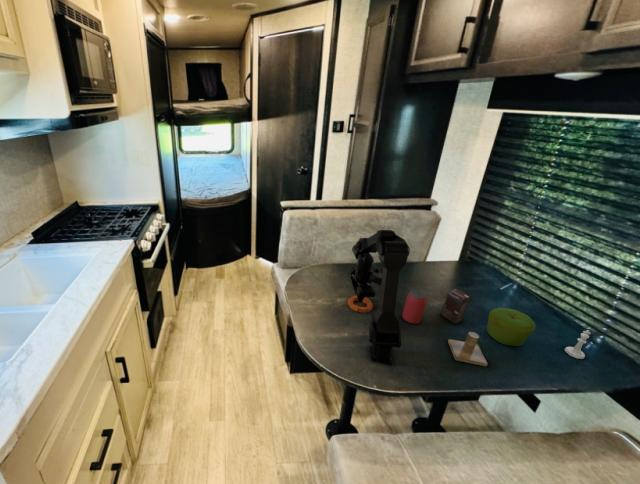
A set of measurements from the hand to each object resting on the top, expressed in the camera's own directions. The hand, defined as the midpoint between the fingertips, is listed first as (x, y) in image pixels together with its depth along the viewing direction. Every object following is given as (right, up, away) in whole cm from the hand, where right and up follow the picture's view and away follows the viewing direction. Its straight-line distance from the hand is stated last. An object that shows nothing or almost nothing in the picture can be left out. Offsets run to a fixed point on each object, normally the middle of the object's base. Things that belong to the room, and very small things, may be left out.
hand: (358, 298), depth 134 cm
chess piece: (+63, -14, -27) cm, 70 cm away
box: (+33, -6, -11) cm, 35 cm away
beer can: (+17, -6, -11) cm, 21 cm away
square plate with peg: (+27, -14, -27) cm, 40 cm away
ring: (0, -2, -3) cm, 4 cm away
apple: (+45, -11, -21) cm, 51 cm away
